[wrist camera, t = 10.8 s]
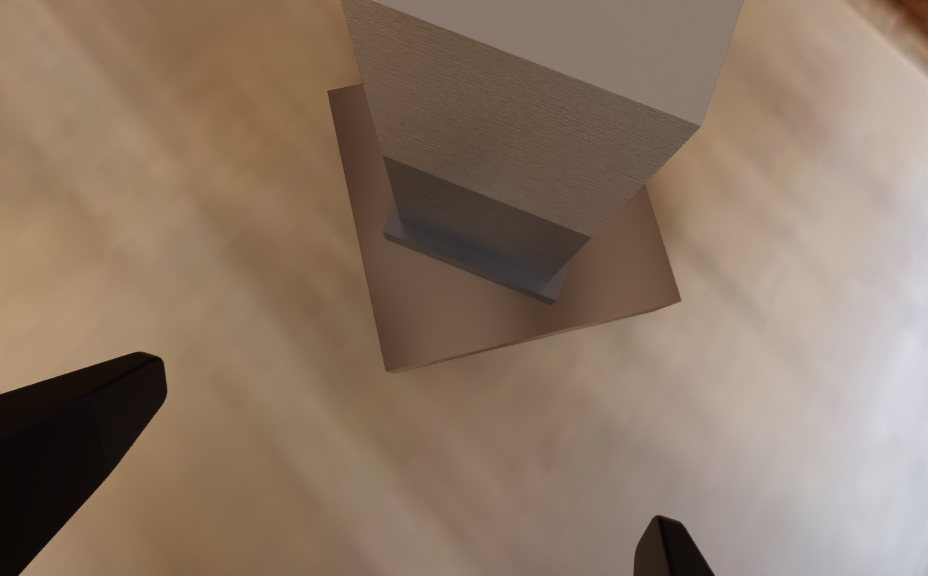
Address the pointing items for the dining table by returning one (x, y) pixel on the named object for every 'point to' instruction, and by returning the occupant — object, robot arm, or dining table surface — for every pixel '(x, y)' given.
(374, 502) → the dining table surface
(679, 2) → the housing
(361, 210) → the stand
